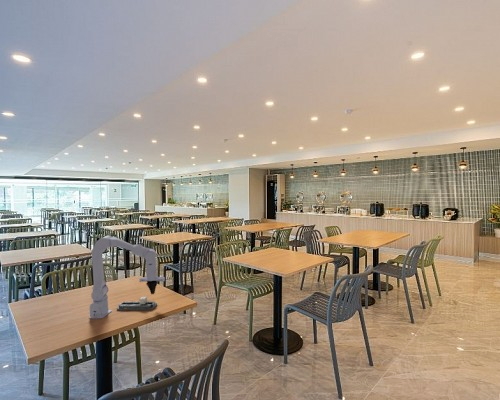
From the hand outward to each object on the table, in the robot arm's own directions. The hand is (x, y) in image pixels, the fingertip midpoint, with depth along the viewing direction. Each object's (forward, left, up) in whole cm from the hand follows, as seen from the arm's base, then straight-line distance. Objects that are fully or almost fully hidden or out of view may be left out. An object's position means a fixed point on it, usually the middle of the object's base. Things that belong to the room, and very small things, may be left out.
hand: (153, 293), depth 164 cm
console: (0, +10, -8) cm, 13 cm away
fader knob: (0, +6, -7) cm, 9 cm away
